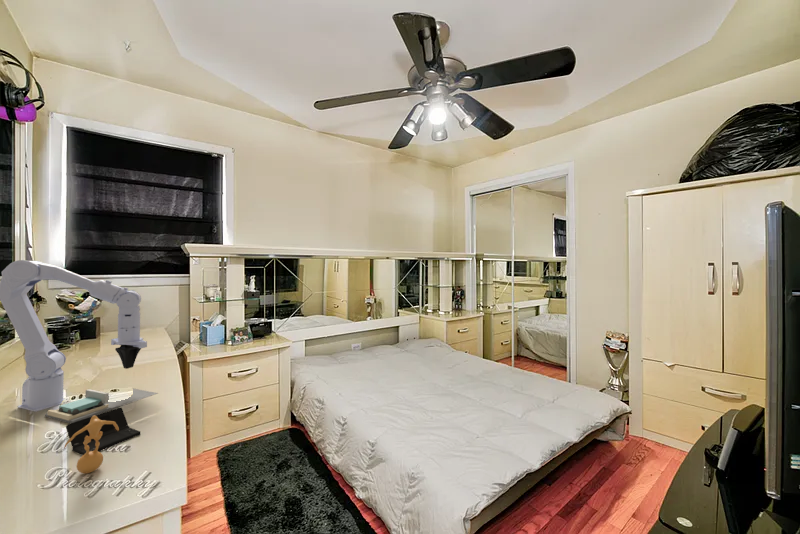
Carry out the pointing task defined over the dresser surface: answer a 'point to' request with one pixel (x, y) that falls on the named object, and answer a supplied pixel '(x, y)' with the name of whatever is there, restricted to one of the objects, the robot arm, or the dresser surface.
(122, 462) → the dresser surface
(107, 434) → the handheld gaming console
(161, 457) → the dresser surface
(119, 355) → the robot arm
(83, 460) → the figurine
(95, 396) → the grey teal-panelled part
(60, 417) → the dock
